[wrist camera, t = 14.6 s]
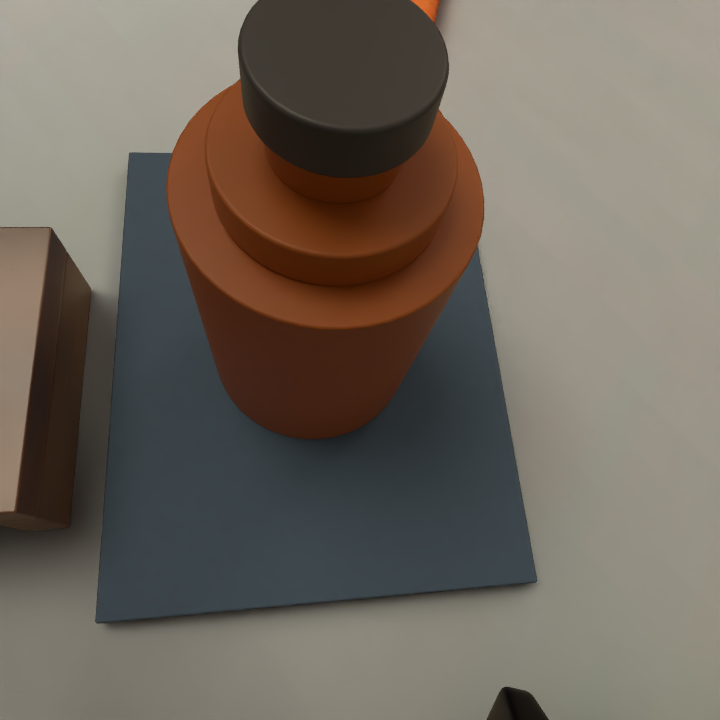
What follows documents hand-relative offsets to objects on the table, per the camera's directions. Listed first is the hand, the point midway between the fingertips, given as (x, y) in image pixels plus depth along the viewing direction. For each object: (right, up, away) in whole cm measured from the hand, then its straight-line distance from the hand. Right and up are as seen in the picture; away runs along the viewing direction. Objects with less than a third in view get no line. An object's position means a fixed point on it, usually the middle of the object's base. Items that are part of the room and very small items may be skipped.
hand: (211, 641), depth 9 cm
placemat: (+1, +4, +10) cm, 11 cm away
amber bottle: (+1, +5, +10) cm, 11 cm away
